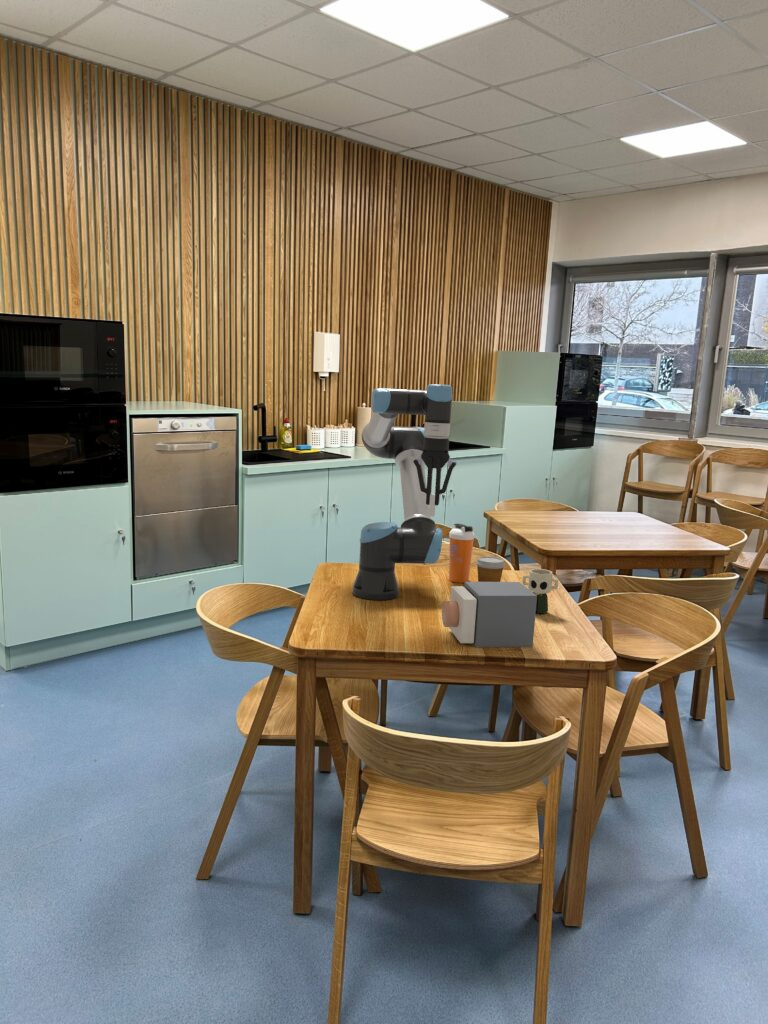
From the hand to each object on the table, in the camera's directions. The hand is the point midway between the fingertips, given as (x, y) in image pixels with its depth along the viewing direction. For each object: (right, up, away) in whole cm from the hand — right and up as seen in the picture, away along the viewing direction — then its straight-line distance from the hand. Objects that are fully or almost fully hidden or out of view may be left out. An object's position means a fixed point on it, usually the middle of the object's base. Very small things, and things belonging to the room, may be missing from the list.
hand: (431, 515), depth 226 cm
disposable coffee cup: (+21, -27, +26) cm, 43 cm away
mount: (+17, -34, -18) cm, 42 cm away
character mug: (+34, -30, +9) cm, 46 cm away
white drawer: (+12, -33, -19) cm, 40 cm away
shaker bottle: (+12, -23, +43) cm, 50 cm away
